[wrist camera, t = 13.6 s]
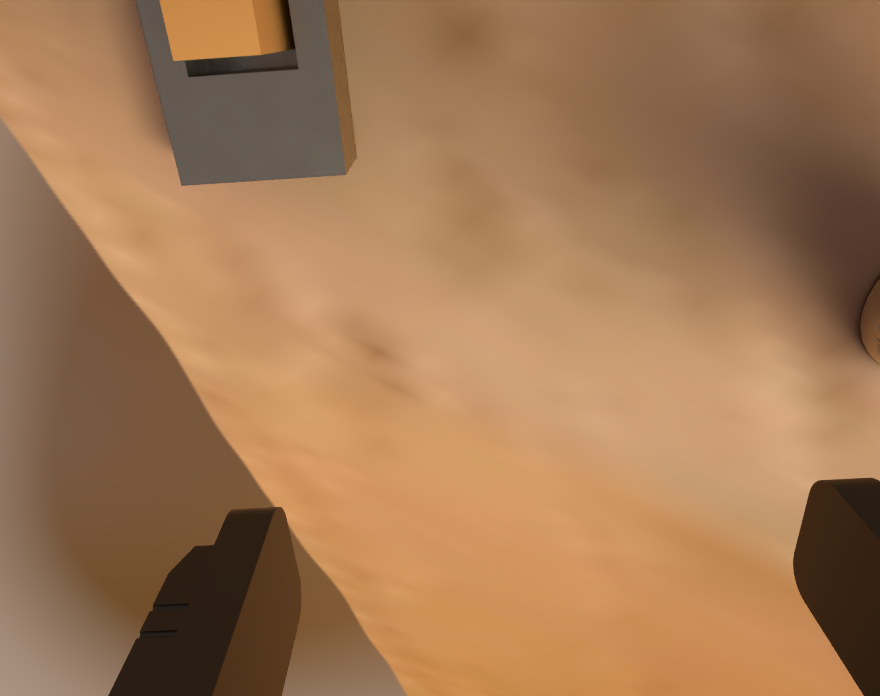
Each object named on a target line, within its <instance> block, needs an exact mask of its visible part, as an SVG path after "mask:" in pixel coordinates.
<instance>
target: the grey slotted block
mask: <svg viewBox="0 0 880 696" xmlns="http://www.w3.org/2000/svg"><path fill="white" fill-rule="evenodd" d="M288 2H289V8H290V15H291V22H292V28H293V35H294V41H295V48H296V49H292V50H286V51H280V52H275V53H269V54H263V55H252V56H238V57H224V58H210V59H195V60H181V61H173V57H172V53H171V48H170V44H169V40H168V35H167V31H166V27H165V22H164V18H163V14H162V9H161V5H160V1H159V0H136V3H137V7H138V11H139V15H140V19H141V23H142V27H143V31H144V36H145V40H146V44H147V48H148V52H149V56H150V60H151V64H152V68H153V72H154V76H155V80H156V84H157V88H158V92H159V96H160V100H161V104H162V109H163V113H164V117H165V121H166V125H167V129H168V133H169V137H170V141H171V145H172V149H173V153H174V157H175V161H176V165H177V169H178V173H179V177H180V181H181V186H185V185H200V184H215V183H230V182H245V181H260V180H275V179H290V178H305V177H320V176H335V175H346V174H347V172H348V171H349V169H350V168H351V166H352V164H353V163H354V161H355V159H356V158H357V155H356V147H355V138H354V130H353V122H352V113H351V105H350V97H349V89H348V80H347V72H346V64H345V55H344V47H343V39H342V31H341V22H340V14H339V6H338V0H288Z"/></svg>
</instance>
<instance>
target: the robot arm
mask: <svg viewBox="0 0 880 696" xmlns="http://www.w3.org/2000/svg"><path fill="white" fill-rule="evenodd" d="M860 328H861V337H862V341H863V343H864V346H865V348H866V351H867V352H868V353H869V354H870V356H871V357H872V358H873V359H874V360H875V361H876V362H877V363H879V364H880V279H879V280H878V281H877V282H876V284H875V286H874V287H873V289H872V291H871V292H870V294H869V296H868V297H867V300H866V303H865V306H864V308H863V311H862V317H861V324H860ZM793 569H794V575H795V580H796V584H797V587H798V590H799V592H800V594H801V596H802V598H803V600H804V602H805V603H806V605H807V606H808V608H809V610H810V611H811V613H812V614H813V616H814V618H815V619H816V621H817V622H818V624H819V625H820V627H821V629H822V630H823V632H824V633H825V635H826V636H827V638H828V640H829V641H830V643H831V644H832V646H833V648H834V649H835V651H836V652H837V654H838V655H839V657H840V659H841V660H842V662H843V663H844V665H845V667H846V668H847V670H848V671H849V673H850V674H851V676H852V678H853V679H854V681H855V682H856V684H857V685H858V687H859V689H860V690H861V692H862V693H863V695H864V696H880V481H878V480H877V479H874V478H856V479H837V480H820V481H817V482H815V483H814V484H813V486H812V487H811V489H810V493H809V496H808V500H807V504H806V508H805V512H804V516H803V520H802V524H801V528H800V532H799V536H798V540H797V544H796V548H795V552H794V558H793ZM300 611H301V583H300V576H299V572H298V567H297V563H296V559H295V554H294V550H293V546H292V541H291V536H290V532H289V527H288V523H287V519H286V515H285V512H284V510H283V509H282V508H281V507H269V508H250V509H233V510H231V511H230V512H229V513H228V515H227V517H226V519H225V521H224V523H223V525H222V528H221V530H220V532H219V535H218V537H217V539H216V542H215V544H214V545H210V546H195V547H194V548H193V549H192V550H191V551H190V552H189V553H188V554H187V555H186V556H185V557H184V558H183V559H182V560H181V561H180V562H179V563H178V565H176V566H175V567H174V568H173V569H172V570H171V571H170V573H169V574H168V575H167V577H166V580H165V582H164V584H163V586H162V588H161V590H160V592H159V594H158V596H157V598H156V600H155V602H154V604H153V611H150V612H149V614H148V616H147V618H146V620H145V622H144V624H143V627H142V628H141V630H140V637H139V638H138V639H136V641H135V643H134V645H133V647H132V649H131V651H130V653H129V655H128V657H127V659H126V661H125V663H124V665H123V667H122V669H121V671H120V673H119V675H118V677H117V679H116V681H115V683H114V685H113V687H112V689H111V691H110V694H109V695H108V696H282V692H283V687H284V683H285V678H286V675H287V670H288V666H289V662H290V657H291V653H292V649H293V645H294V640H295V636H296V632H297V627H298V623H299V618H300Z"/></svg>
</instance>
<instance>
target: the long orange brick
mask: <svg viewBox="0 0 880 696" xmlns="http://www.w3.org/2000/svg"><path fill="white" fill-rule="evenodd" d="M159 1H160V5H161V9H162V14H163V18H164V22H165V27H166V31H167V35H168V40H169V44H170V48H171V53H172V57H173V61H181V60H195V59H210V58H224V57H238V56H252V55H263V54H269V53H275V52H280V51H286V50H292V49H296V48H295V41H294V35H293V28H292V22H291V15H290V8H289V2H288V0H159Z"/></svg>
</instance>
